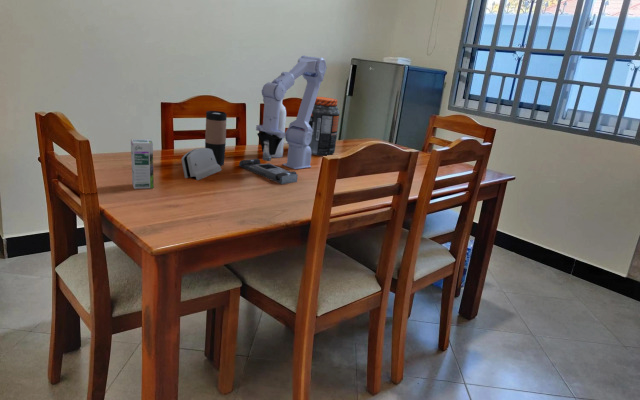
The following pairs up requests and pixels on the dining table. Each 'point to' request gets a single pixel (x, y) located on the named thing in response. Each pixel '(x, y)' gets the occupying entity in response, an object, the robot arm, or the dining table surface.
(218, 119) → the travel mug
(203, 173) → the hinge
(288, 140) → the robot arm
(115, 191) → the dining table surface
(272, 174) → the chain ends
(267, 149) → the steel pin
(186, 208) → the dining table surface
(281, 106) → the bottle
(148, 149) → the syrup box
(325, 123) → the supplement tub
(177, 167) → the dining table surface
